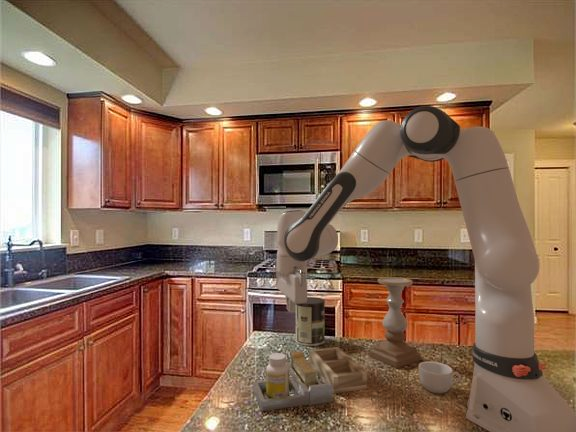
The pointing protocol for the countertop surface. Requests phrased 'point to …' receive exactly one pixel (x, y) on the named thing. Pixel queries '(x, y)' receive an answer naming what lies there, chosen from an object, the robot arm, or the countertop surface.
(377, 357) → the candle holder
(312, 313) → the coffee can
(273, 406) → the socket block
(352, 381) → the box
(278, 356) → the supplement bottle
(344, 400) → the countertop surface
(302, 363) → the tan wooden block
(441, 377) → the teacup
